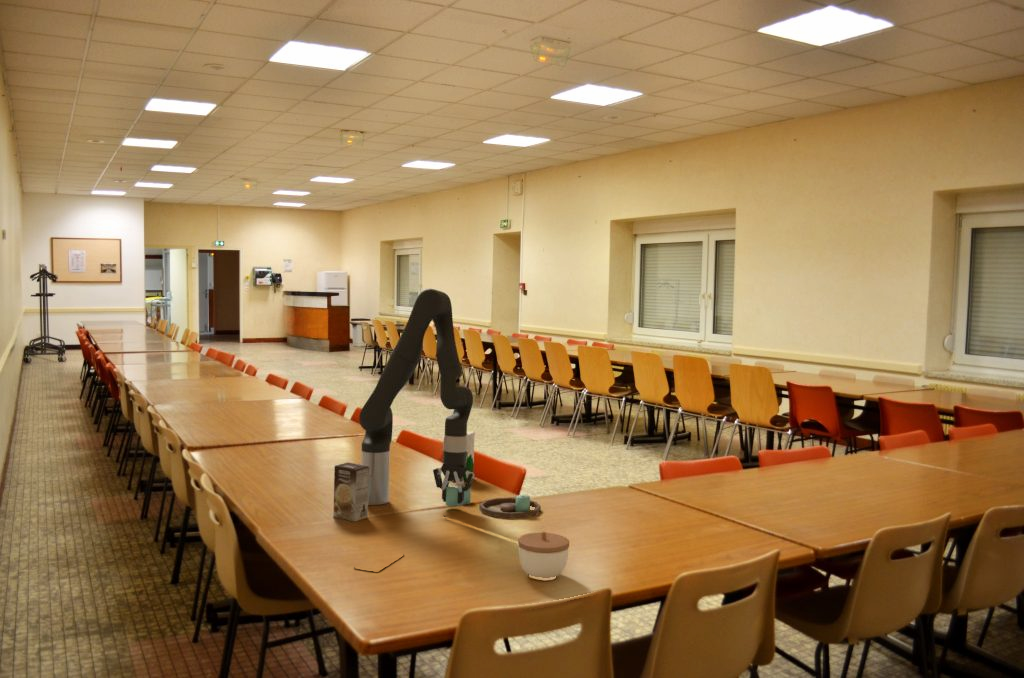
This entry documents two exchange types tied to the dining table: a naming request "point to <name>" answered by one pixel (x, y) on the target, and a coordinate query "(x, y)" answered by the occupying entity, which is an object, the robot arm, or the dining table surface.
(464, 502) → the bead
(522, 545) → the lidded bowl
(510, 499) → the ring tray
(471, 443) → the milk carton
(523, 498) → the bead
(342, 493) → the coffee box
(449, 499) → the bead
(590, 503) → the dining table surface
